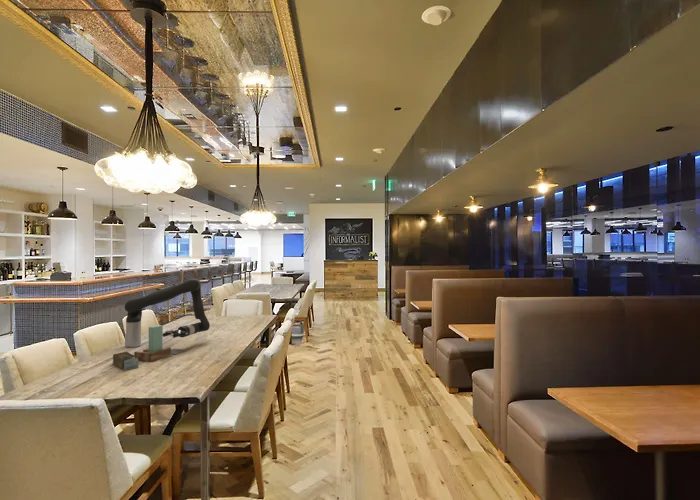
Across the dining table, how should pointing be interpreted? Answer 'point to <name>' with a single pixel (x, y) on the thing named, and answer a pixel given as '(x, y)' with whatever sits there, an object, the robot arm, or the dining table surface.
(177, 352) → the pad
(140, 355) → the frame
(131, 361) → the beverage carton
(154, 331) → the tall teal pillar
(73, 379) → the dining table surface
